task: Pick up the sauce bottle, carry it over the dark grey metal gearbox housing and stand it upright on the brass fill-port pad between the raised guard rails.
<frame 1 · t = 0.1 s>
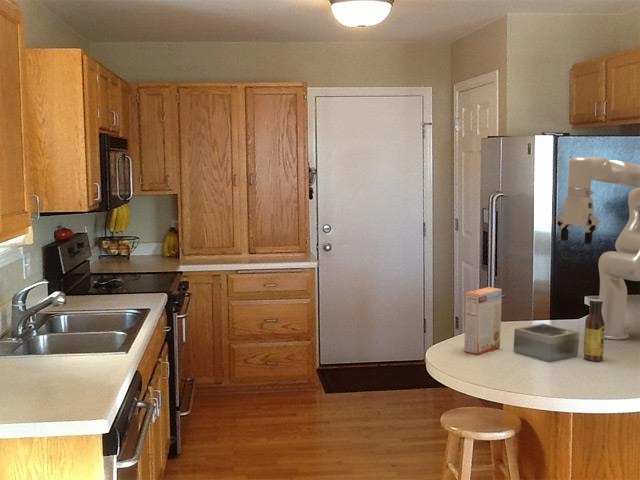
hand: (576, 242, 274), 37 cm above the counter, tool pointing down, fingers open, 9 cm apart
sauce bottle: (592, 359, 260), on the counter
cracker box: (481, 350, 270), on the counter
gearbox: (545, 353, 266), on the counter
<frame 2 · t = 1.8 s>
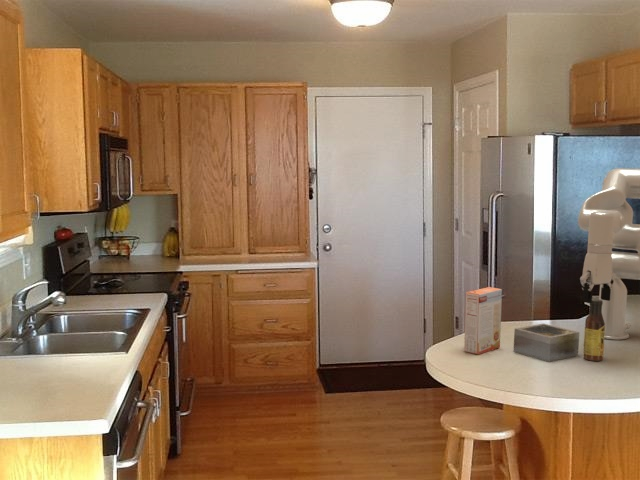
hand: (596, 301, 258), 20 cm above the counter, tool pointing down, fingers open, 9 cm apart
nothing on the counter moved.
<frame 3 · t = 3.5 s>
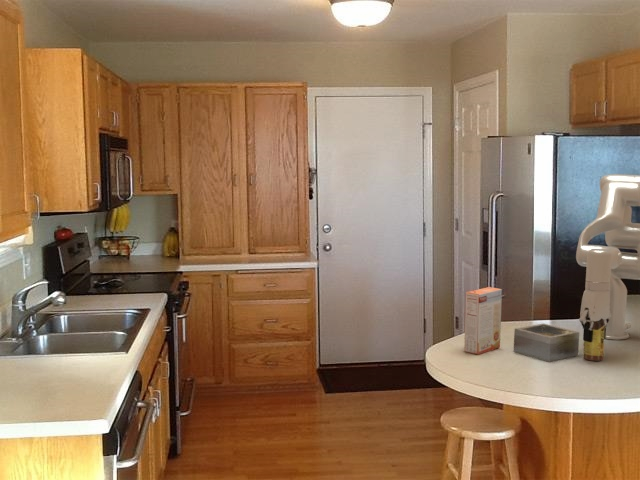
hand: (594, 339, 260), 7 cm above the counter, tool pointing down, fingers closed on sauce bottle, 6 cm apart
sauce bottle: (593, 359, 260), on the counter, touching gripper
everything else where it was.
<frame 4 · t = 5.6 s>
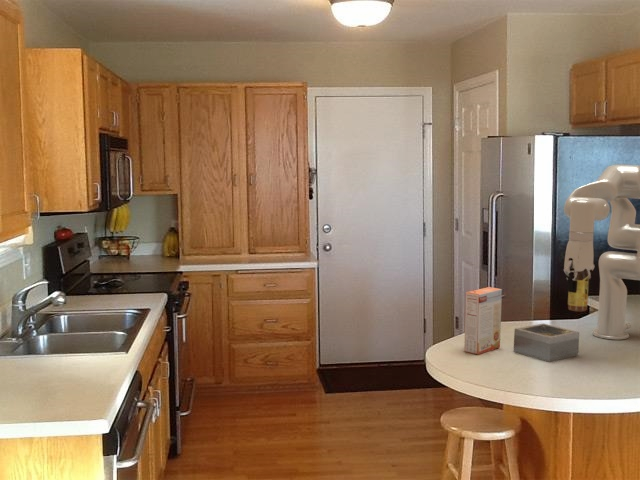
hand: (578, 290, 260), 23 cm above the counter, tool pointing down, fingers closed on sauce bottle, 6 cm apart
sauce bottle: (577, 310, 261), point 16 cm above the counter, touching gripper
everything else where it was.
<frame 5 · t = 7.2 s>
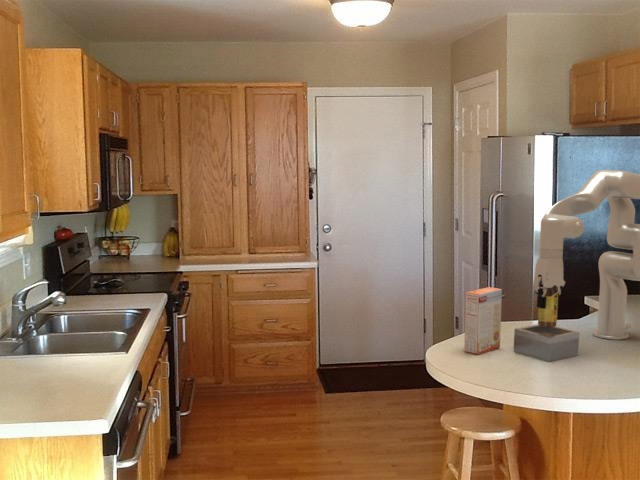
hand: (547, 306, 264), 16 cm above the counter, tool pointing down, fingers closed on sauce bottle, 6 cm apart
sauce bottle: (546, 326, 265), point 9 cm above the counter, touching gripper
everything else where it was.
when the fingers open (14 cm above the counter, at t = 8.1 s): sauce bottle drops 1 cm, resting on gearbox.
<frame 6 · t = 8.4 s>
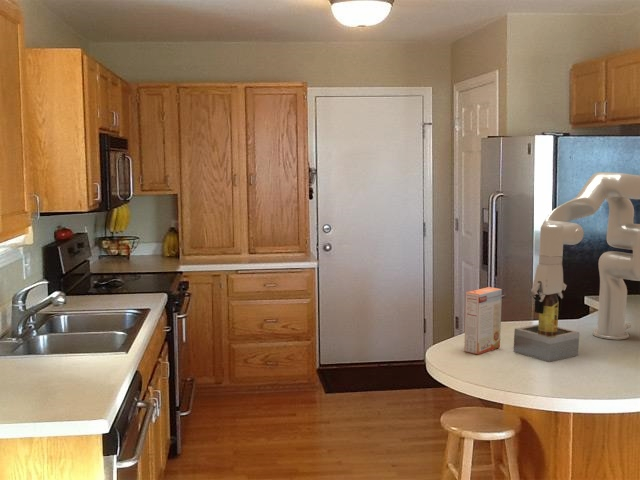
hand: (547, 311, 264), 15 cm above the counter, tool pointing down, fingers open, 8 cm apart
sauce bottle: (547, 336, 266), point 6 cm above the counter, touching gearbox
everything else where it was.
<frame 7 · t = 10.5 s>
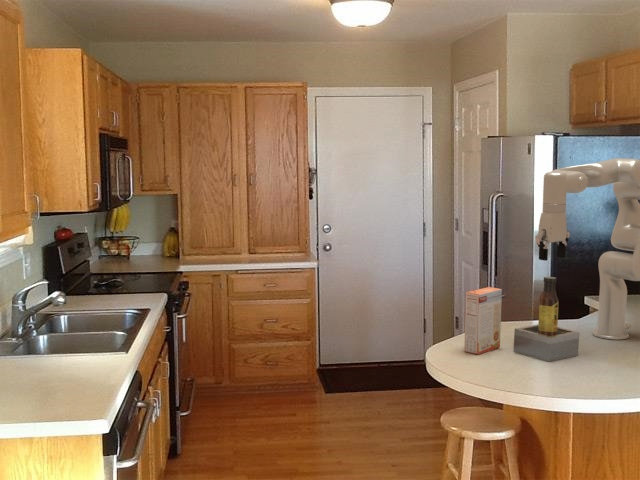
hand: (552, 258, 268), 32 cm above the counter, tool pointing down, fingers open, 9 cm apart
nothing on the counter moved.
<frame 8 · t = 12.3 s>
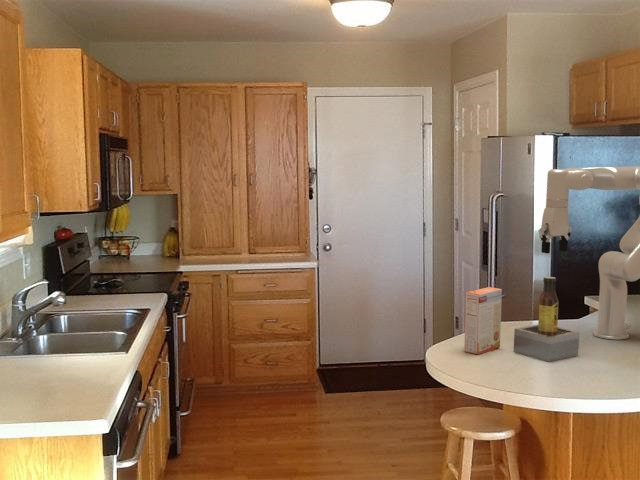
hand: (554, 252, 280), 32 cm above the counter, tool pointing down, fingers open, 9 cm apart
nothing on the counter moved.
at the end: sauce bottle inside the target area on the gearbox (0.3 cm from its centre), point 6.0 cm above the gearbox's base; sauce bottle tilted 0°; the gripper is holding nothing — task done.
